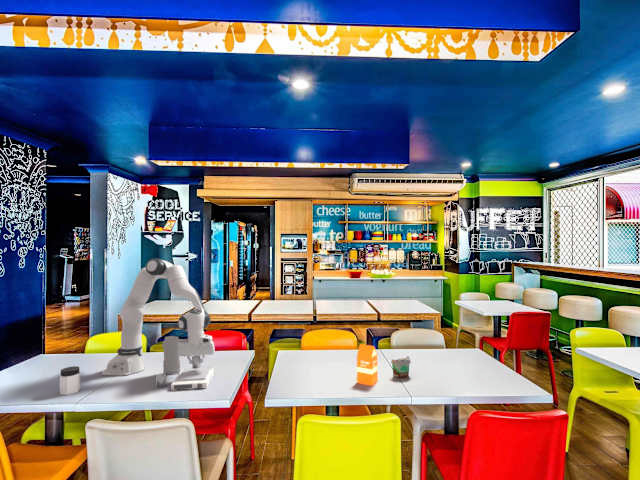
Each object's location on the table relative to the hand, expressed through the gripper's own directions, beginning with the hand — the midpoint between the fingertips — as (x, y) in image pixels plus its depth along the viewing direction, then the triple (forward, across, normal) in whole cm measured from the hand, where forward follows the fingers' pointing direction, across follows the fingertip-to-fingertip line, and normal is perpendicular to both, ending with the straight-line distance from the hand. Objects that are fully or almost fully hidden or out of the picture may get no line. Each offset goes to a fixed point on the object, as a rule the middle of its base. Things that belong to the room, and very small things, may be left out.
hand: (196, 363), depth 205 cm
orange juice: (+9, +94, -21) cm, 97 cm away
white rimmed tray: (+8, 0, -6) cm, 10 cm away
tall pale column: (+9, -16, +11) cm, 21 cm away
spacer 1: (+8, -16, -9) cm, 21 cm away
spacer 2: (+2, 0, 0) cm, 2 cm away
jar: (+8, -61, -10) cm, 63 cm away
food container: (+9, +116, -18) cm, 118 cm away
